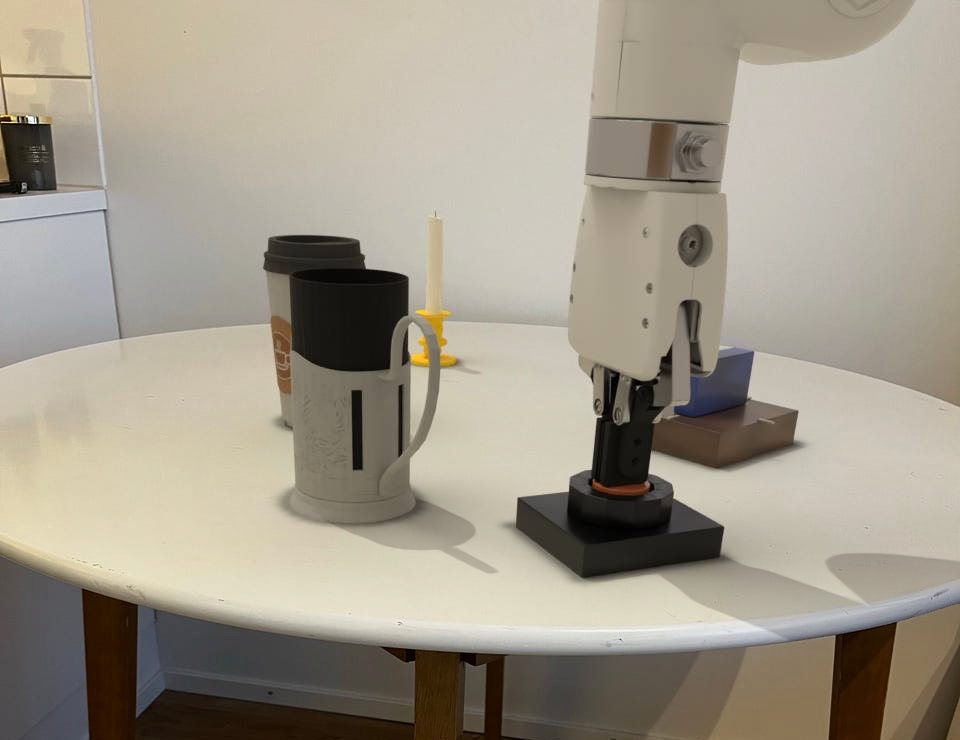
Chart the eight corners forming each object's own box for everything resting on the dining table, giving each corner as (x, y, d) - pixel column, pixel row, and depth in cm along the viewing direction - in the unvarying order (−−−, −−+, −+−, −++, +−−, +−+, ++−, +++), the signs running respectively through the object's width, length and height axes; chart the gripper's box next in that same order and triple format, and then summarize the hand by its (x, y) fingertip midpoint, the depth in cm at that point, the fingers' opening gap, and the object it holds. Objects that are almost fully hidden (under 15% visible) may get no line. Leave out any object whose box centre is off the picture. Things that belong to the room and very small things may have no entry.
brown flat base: (688, 417, 96) (693, 383, 94) (804, 447, 88) (811, 411, 87) (606, 438, 88) (609, 402, 86) (725, 473, 80) (731, 434, 79)
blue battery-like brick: (727, 399, 90) (735, 344, 88) (746, 403, 88) (755, 348, 86) (673, 412, 85) (680, 354, 82) (692, 417, 83) (700, 359, 81)
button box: (642, 512, 71) (649, 457, 69) (719, 559, 64) (729, 498, 62) (515, 528, 67) (518, 470, 66) (581, 580, 60) (587, 516, 58)
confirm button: (627, 496, 67) (630, 470, 66) (658, 514, 64) (661, 487, 63) (580, 502, 65) (582, 475, 65) (608, 520, 62) (611, 493, 62)
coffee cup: (253, 419, 89) (242, 235, 82) (334, 407, 94) (330, 232, 87) (303, 442, 83) (296, 247, 76) (386, 427, 88) (386, 243, 81)
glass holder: (374, 475, 76) (372, 264, 69) (488, 534, 66) (499, 294, 59) (267, 494, 71) (254, 269, 65) (372, 561, 61) (370, 303, 55)
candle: (456, 358, 115) (461, 210, 108) (454, 368, 110) (459, 213, 103) (410, 356, 115) (412, 207, 108) (406, 366, 110) (408, 211, 103)
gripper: (799, 169, 51) (740, 515, 59) (639, 155, 63) (609, 444, 71) (674, 164, 48) (631, 529, 56) (531, 151, 60) (513, 453, 68)
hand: (618, 481), depth 64 cm, fingers closed
